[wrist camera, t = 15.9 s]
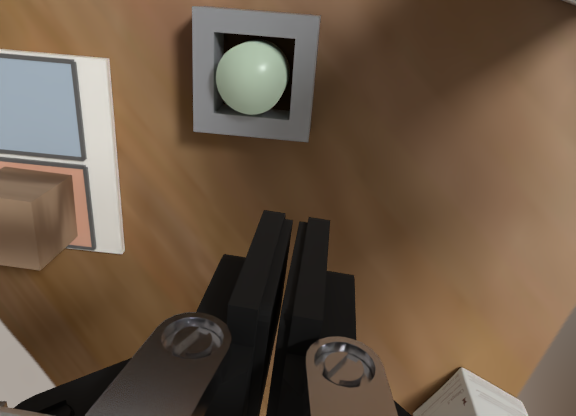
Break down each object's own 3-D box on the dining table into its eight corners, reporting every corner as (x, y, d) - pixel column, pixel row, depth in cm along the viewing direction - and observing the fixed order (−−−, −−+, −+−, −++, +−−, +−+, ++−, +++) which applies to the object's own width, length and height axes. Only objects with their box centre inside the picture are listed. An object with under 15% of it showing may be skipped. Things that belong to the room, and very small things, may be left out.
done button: (228, 36, 32) (216, 40, 29) (292, 41, 32) (287, 46, 28) (227, 100, 34) (215, 111, 30) (287, 105, 34) (282, 117, 30)
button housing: (204, 5, 32) (192, 6, 29) (320, 15, 31) (319, 16, 29) (204, 121, 35) (193, 131, 32) (310, 131, 35) (308, 142, 32)
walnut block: (4, 166, 37) (-47, 192, 32) (72, 175, 37) (31, 202, 32) (14, 227, 39) (-32, 260, 34) (77, 236, 39) (40, 270, 34)
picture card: (-49, 44, 34) (-58, 45, 34) (109, 58, 34) (104, 59, 33) (-9, 236, 41) (-15, 240, 40) (124, 250, 40) (120, 255, 40)
